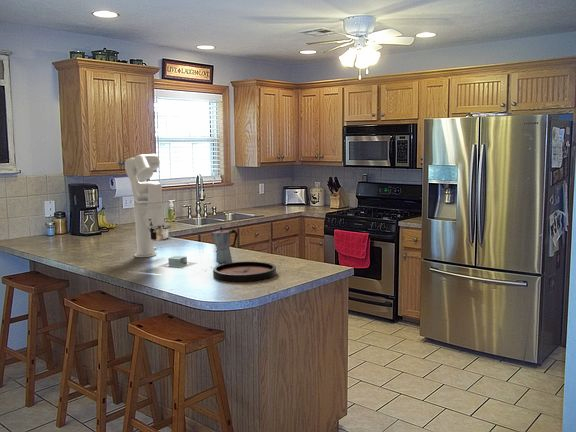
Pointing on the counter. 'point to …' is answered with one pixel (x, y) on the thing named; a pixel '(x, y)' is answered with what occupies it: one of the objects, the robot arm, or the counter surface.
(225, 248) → the moka pot
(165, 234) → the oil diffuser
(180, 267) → the build board
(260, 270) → the round serving tray
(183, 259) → the teal base block
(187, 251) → the counter surface
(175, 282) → the counter surface
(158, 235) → the maple block
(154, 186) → the robot arm
